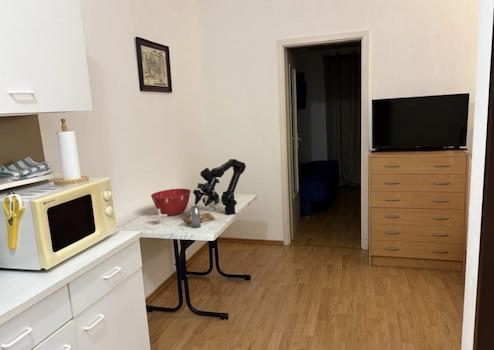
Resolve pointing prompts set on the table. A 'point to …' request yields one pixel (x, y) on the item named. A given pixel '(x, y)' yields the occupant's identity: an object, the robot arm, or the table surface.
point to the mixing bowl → (171, 201)
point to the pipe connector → (159, 216)
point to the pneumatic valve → (210, 208)
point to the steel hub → (195, 217)
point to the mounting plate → (203, 218)
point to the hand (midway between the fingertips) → (200, 205)
